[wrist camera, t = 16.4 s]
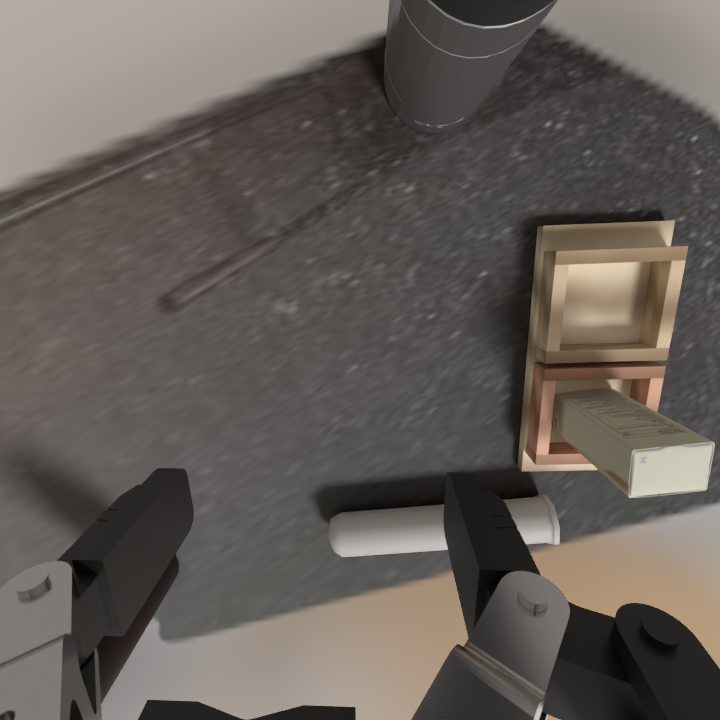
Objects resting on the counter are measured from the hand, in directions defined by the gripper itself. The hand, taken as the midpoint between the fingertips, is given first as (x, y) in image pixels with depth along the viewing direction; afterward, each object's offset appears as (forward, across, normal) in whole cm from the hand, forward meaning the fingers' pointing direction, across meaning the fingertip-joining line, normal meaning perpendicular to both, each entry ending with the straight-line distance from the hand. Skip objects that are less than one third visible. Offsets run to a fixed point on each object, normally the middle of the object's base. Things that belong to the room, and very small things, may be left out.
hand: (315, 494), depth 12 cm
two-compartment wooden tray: (+30, -24, +5) cm, 38 cm away
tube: (+28, -9, +22) cm, 37 cm away
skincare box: (+28, -24, +10) cm, 38 cm away
